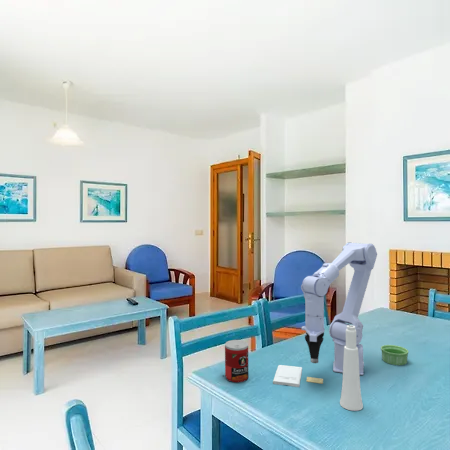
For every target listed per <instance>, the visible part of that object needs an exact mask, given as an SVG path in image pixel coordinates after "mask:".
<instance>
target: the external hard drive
mask: <svg viewBox="0 0 450 450" xmlns="http://www.w3.org/2000/svg"><path fill="white" fill-rule="evenodd" d="M302 374H303V367H302V366H294V365H283V364H278V366H277V369H276V371H275V374H274V378H273V380H272V384H273V385H279V386H288V387H295V388H300V385H301V380H302Z"/></svg>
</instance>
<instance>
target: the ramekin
mask: <svg viewBox="0 0 450 450" xmlns="http://www.w3.org/2000/svg"><path fill="white" fill-rule="evenodd" d="M380 350H381V358H382V361H383V362H384V363H387V364H389V365H393V366H405V365H406V364H407V363H408V357H409V350H408V349H407V348H405V347H403V346H399V345H394V344H384V345H381V346H380Z"/></svg>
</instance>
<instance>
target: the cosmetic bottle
mask: <svg viewBox="0 0 450 450" xmlns="http://www.w3.org/2000/svg"><path fill="white" fill-rule="evenodd" d="M360 376H361V375H359V356H358V348H357V347H356V330H355V326H353V325H352V324H349V325H347V329H346V346H344V360H343V373H342V385H341V391H340V392H341V393H340V399H339V405H340V406H341V407H342V408H343V409H345V410H348V411H353V412H356V411H361V410H363V408H364V404H363V399H362V393H361V391H362V390H361V380H360V379H361V378H360Z"/></svg>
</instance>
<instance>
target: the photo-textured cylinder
mask: <svg viewBox="0 0 450 450" xmlns="http://www.w3.org/2000/svg"><path fill="white" fill-rule="evenodd" d="M310 363H312V364H319V358H318V359H311V358H310Z"/></svg>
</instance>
